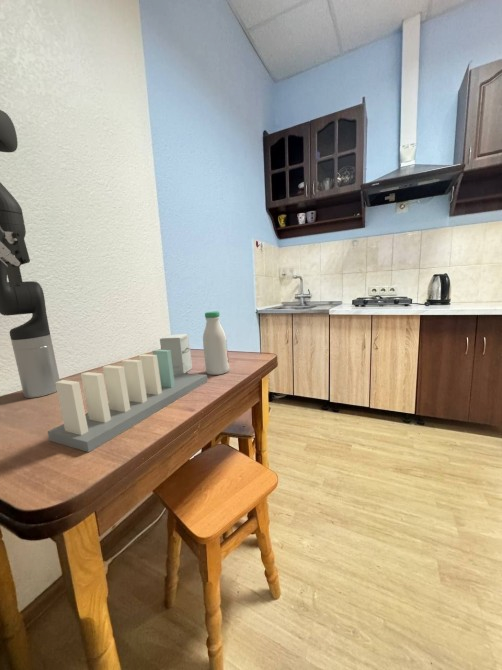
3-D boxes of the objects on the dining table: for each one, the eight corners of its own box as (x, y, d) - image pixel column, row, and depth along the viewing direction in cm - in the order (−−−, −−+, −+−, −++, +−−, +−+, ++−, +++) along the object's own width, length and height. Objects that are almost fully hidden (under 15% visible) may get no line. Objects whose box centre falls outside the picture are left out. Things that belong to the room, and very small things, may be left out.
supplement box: (184, 375, 91) (179, 337, 89) (163, 375, 93) (158, 338, 91) (193, 368, 99) (189, 333, 96) (173, 368, 100) (169, 334, 98)
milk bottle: (228, 374, 88) (222, 312, 85) (204, 376, 89) (197, 314, 85) (230, 367, 96) (225, 310, 93) (208, 369, 96) (202, 311, 93)
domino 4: (142, 402, 65) (136, 362, 64) (127, 400, 68) (121, 360, 66) (147, 400, 67) (141, 360, 65) (132, 398, 69) (126, 359, 67)
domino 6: (171, 387, 74) (166, 351, 73) (157, 386, 76) (152, 350, 75) (175, 385, 76) (170, 350, 74) (161, 384, 78) (156, 349, 76)
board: (49, 440, 55) (47, 431, 55) (176, 378, 89) (175, 372, 88) (88, 452, 50) (87, 442, 50) (207, 381, 84) (207, 374, 83)
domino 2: (105, 422, 57) (96, 375, 55) (89, 419, 59) (80, 374, 57) (111, 419, 58) (103, 373, 56) (95, 416, 60) (87, 372, 58)
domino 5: (158, 394, 70) (152, 356, 68) (143, 392, 72) (137, 355, 70) (162, 392, 71) (156, 354, 69) (147, 390, 73) (142, 354, 72)
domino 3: (125, 412, 61) (118, 368, 59) (109, 409, 63) (102, 367, 61) (130, 409, 62) (123, 366, 61) (115, 406, 64) (108, 365, 63)
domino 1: (81, 435, 52) (71, 384, 50) (65, 431, 54) (55, 382, 53) (88, 431, 53) (79, 382, 52) (72, 427, 56) (62, 379, 54)
